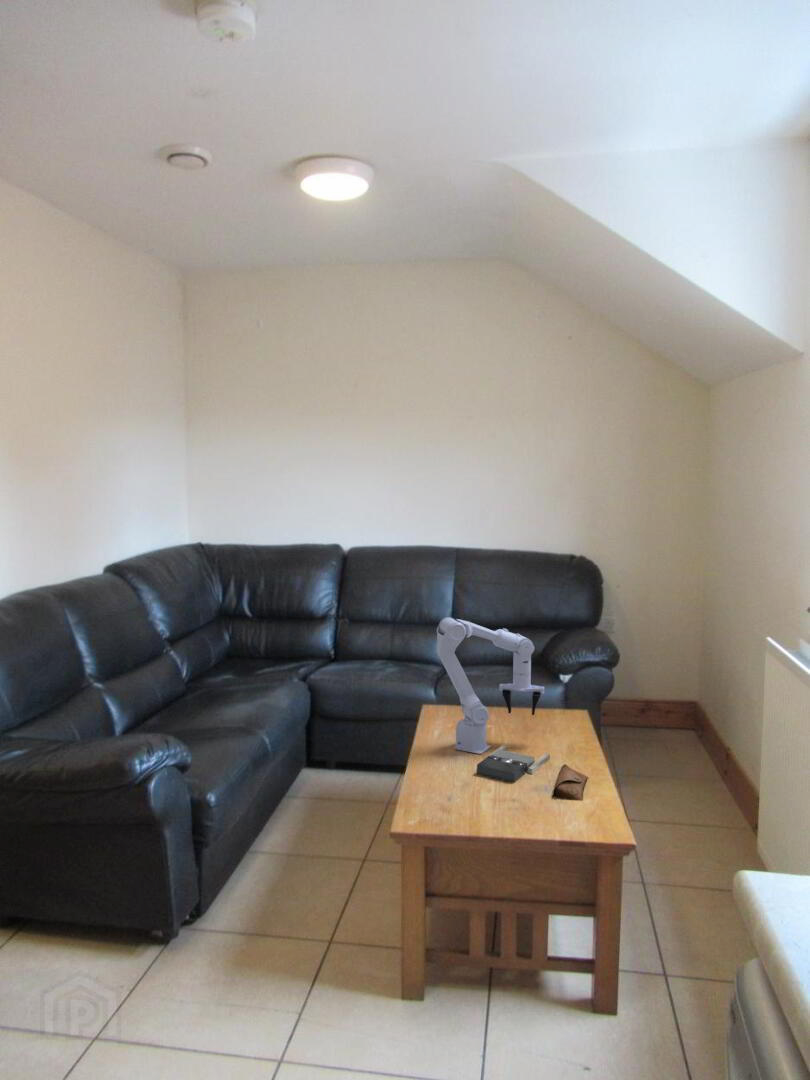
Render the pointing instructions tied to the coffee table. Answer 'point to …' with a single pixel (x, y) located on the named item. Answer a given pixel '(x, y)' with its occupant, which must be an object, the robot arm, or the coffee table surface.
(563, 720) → the coffee table surface
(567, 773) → the sunglasses case
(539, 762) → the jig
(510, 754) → the grey piece
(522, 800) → the coffee table surface
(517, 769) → the fixed leaf
